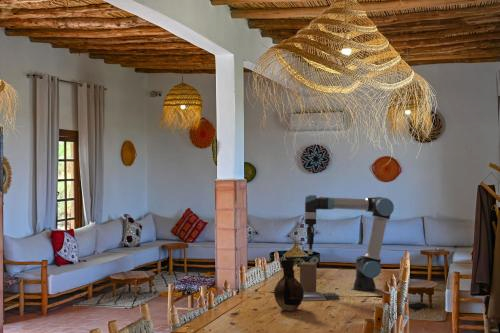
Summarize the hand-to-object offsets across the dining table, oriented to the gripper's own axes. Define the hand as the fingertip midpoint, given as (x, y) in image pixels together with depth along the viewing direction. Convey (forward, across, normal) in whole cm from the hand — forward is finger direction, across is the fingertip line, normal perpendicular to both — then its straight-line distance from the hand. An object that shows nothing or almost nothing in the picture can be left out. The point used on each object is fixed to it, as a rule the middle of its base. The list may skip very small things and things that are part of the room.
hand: (310, 253), depth 459 cm
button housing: (+26, +16, +10) cm, 33 cm away
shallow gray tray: (+27, +15, -3) cm, 31 cm away
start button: (+26, +16, +10) cm, 32 cm away
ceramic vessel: (+27, +48, -23) cm, 60 cm away
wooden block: (+27, -2, -1) cm, 27 cm away
